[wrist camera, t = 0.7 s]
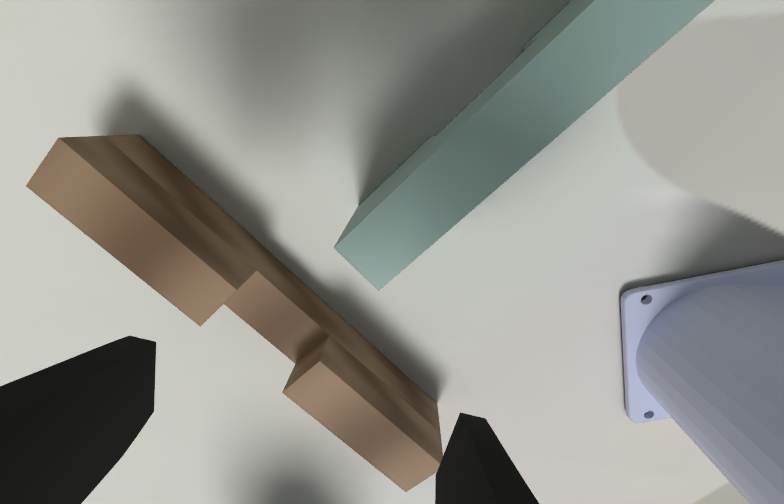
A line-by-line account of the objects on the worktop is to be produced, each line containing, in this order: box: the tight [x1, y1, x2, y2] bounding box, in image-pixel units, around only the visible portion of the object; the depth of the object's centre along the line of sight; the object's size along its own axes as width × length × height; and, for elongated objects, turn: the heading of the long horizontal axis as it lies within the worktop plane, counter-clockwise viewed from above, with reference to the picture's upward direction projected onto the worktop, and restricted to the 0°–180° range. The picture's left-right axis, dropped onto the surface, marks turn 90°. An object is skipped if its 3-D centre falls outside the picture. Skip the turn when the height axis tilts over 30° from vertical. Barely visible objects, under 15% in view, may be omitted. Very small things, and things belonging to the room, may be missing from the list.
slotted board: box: [26, 135, 443, 492], centre depth 17 cm, size 20×2×4 cm, turn 44°
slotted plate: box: [334, 0, 715, 291], centre depth 13 cm, size 14×2×6 cm, turn 134°
